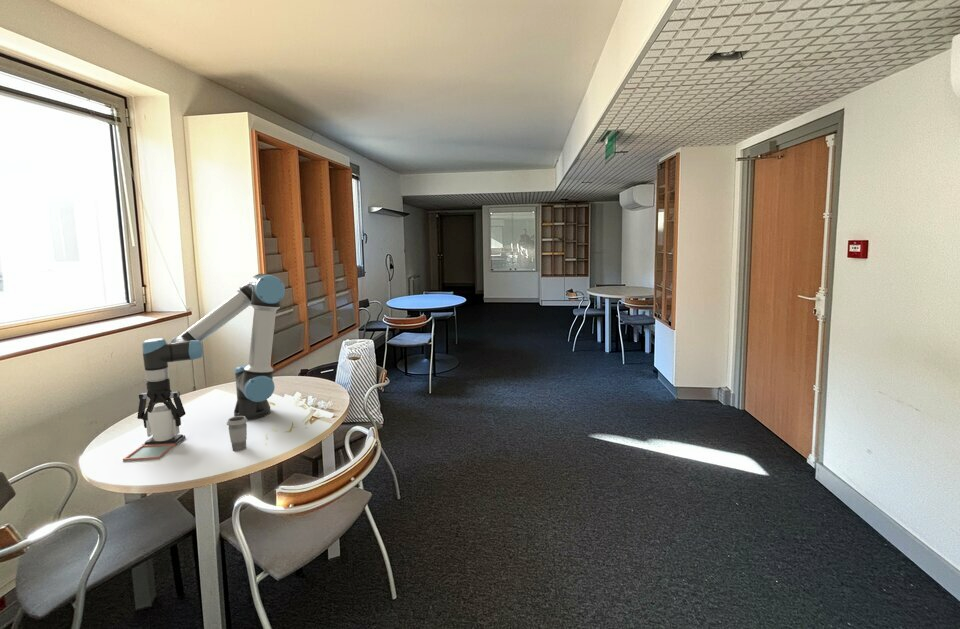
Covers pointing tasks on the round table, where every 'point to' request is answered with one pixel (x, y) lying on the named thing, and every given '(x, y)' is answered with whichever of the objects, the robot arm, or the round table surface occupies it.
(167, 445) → the print frame
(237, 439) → the cup
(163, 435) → the cup
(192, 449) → the round table surface
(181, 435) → the ink pad
